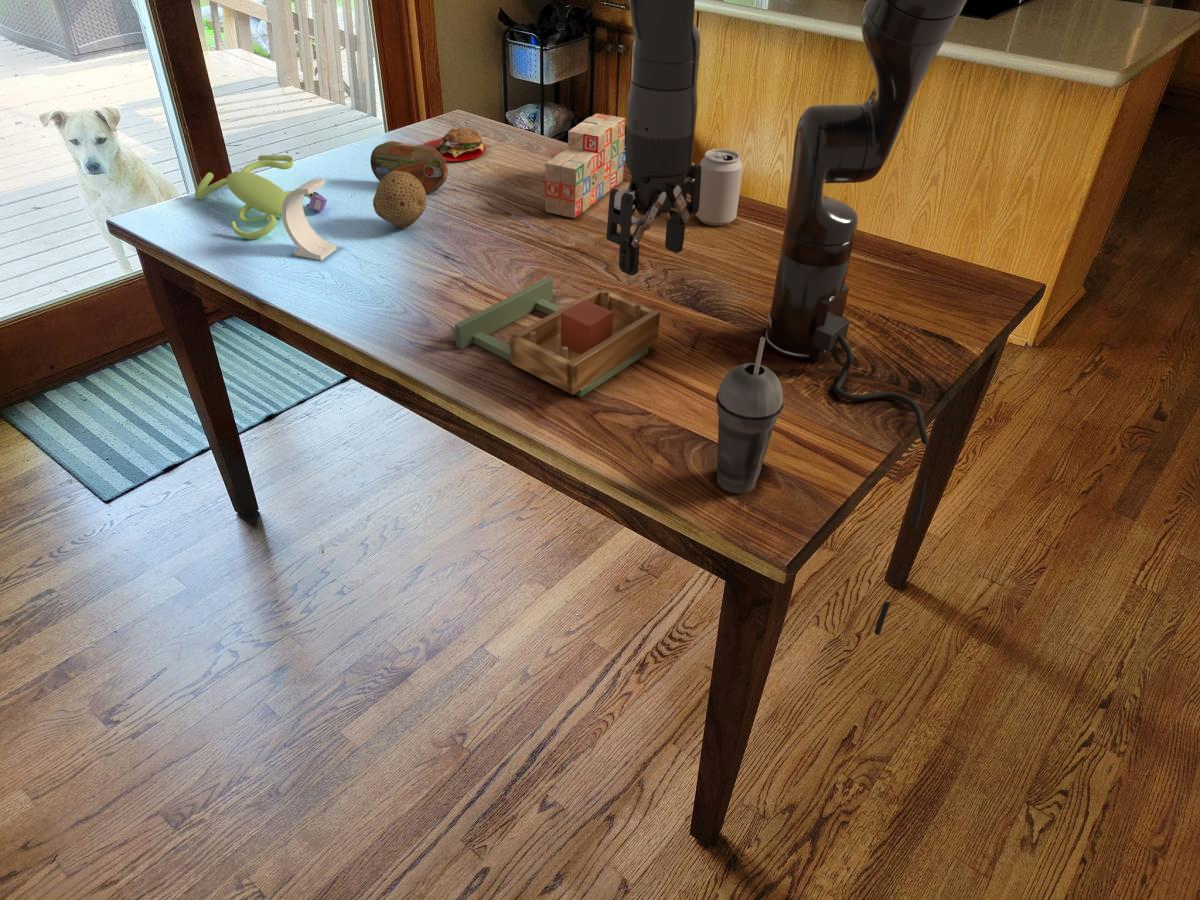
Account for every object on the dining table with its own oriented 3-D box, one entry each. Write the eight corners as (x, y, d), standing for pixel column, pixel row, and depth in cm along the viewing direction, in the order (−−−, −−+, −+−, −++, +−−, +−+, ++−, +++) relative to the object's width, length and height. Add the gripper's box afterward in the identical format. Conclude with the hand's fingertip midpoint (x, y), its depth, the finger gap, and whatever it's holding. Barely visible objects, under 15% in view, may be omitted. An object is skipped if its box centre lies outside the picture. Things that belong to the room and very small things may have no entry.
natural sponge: (435, 235, 150) (429, 179, 144) (383, 243, 148) (375, 186, 142) (423, 215, 157) (417, 160, 151) (373, 221, 154) (365, 166, 148)
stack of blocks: (575, 219, 157) (575, 151, 150) (544, 212, 159) (543, 145, 152) (623, 180, 172) (626, 116, 165) (594, 174, 175) (596, 111, 167)
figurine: (285, 173, 171) (279, 144, 167) (346, 219, 155) (340, 188, 151) (189, 194, 162) (181, 164, 158) (243, 245, 146) (235, 213, 142)
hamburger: (462, 135, 190) (460, 106, 187) (499, 153, 182) (498, 124, 178) (406, 148, 183) (403, 119, 179) (442, 168, 175) (439, 138, 171)
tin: (372, 185, 167) (366, 141, 162) (380, 179, 170) (374, 135, 164) (444, 196, 164) (440, 151, 159) (451, 190, 166) (447, 146, 161)
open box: (658, 339, 123) (660, 306, 120) (572, 394, 112) (572, 360, 108) (598, 312, 128) (599, 281, 125) (510, 363, 117) (509, 330, 114)
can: (734, 229, 156) (742, 163, 148) (692, 225, 157) (698, 159, 149) (737, 213, 161) (745, 148, 154) (697, 208, 162) (703, 144, 155)
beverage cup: (761, 461, 104) (788, 314, 92) (773, 501, 99) (803, 351, 86) (701, 460, 104) (720, 313, 92) (709, 501, 98) (730, 351, 86)
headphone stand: (321, 260, 142) (307, 189, 135) (289, 254, 144) (274, 183, 136) (336, 249, 146) (324, 178, 138) (306, 243, 147) (292, 173, 140)
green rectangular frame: (657, 346, 124) (659, 324, 122) (569, 405, 112) (569, 382, 110) (548, 297, 134) (548, 276, 132) (456, 347, 123) (454, 324, 120)
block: (612, 343, 119) (613, 311, 116) (588, 358, 116) (589, 325, 113) (584, 331, 122) (584, 299, 119) (560, 345, 119) (560, 313, 115)
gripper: (646, 149, 89) (637, 291, 99) (727, 118, 97) (711, 252, 107) (591, 131, 93) (588, 270, 103) (674, 103, 101) (664, 234, 111)
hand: (651, 261), depth 105 cm, fingers open, 8 cm apart
